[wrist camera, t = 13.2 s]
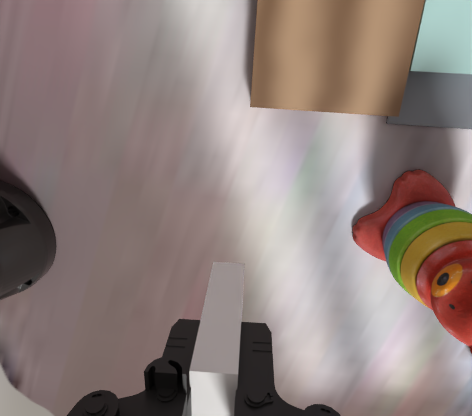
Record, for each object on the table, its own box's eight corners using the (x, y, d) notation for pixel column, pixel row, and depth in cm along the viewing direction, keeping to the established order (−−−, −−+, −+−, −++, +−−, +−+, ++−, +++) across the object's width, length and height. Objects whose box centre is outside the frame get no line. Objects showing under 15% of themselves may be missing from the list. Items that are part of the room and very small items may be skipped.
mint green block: (402, 70, 34) (410, 70, 32) (417, -1, 32) (426, -5, 30) (498, 75, 34) (512, 76, 32) (521, 3, 31) (537, -1, 29)
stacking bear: (412, 160, 37) (527, 233, 21) (480, 213, 39) (637, 319, 22) (343, 234, 41) (395, 344, 25) (408, 279, 43) (497, 412, 26)
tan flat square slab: (251, 104, 37) (250, 106, 34) (262, -59, 31) (262, -71, 29) (388, 113, 36) (398, 116, 33) (423, -52, 31) (438, -65, 28)
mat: (386, 123, 36) (387, 123, 36) (426, -66, 30) (427, -68, 30) (496, 130, 36) (498, 131, 35) (559, -61, 30) (562, -62, 29)
